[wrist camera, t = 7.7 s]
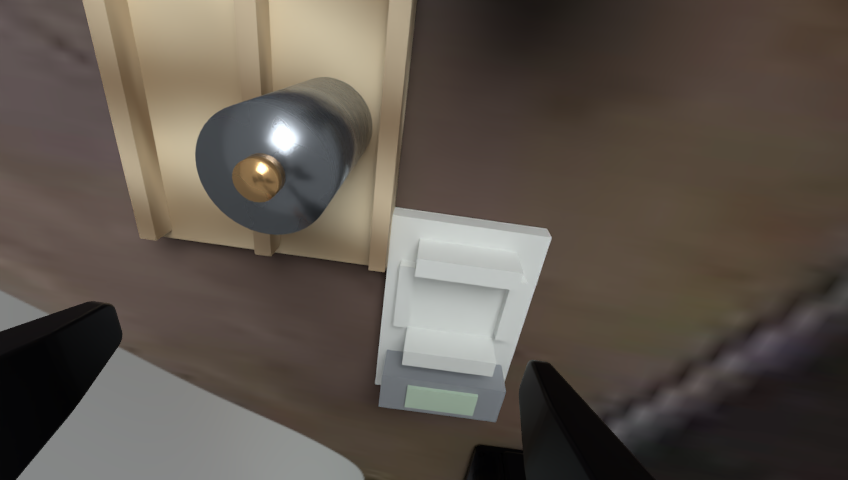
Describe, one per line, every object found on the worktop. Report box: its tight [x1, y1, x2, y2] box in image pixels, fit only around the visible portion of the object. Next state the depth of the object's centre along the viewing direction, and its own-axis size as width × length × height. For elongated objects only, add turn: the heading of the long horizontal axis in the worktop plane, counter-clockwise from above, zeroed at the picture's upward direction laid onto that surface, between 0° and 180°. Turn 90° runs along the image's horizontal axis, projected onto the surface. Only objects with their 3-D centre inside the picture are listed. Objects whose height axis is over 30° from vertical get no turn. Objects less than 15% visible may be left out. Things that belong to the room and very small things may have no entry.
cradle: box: [375, 207, 552, 422], centre depth 21 cm, size 12×8×3 cm, turn 172°
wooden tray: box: [83, 0, 417, 272], centre depth 17 cm, size 14×12×2 cm
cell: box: [195, 77, 372, 235], centre depth 14 cm, size 4×4×8 cm
